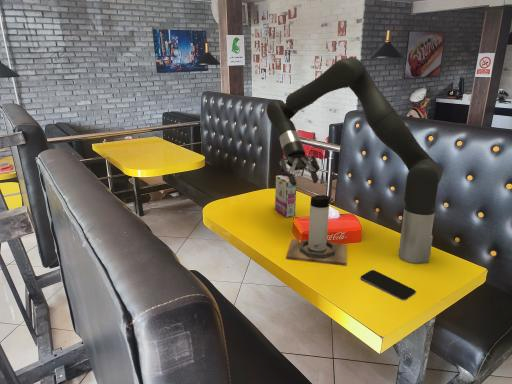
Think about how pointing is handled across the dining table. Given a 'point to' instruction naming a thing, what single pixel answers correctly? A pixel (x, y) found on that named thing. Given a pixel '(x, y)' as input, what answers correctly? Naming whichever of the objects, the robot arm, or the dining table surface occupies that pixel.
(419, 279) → the dining table surface
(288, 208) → the candy bar box
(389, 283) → the smartphone
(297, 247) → the mug holder board
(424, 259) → the robot arm
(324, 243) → the travel mug
